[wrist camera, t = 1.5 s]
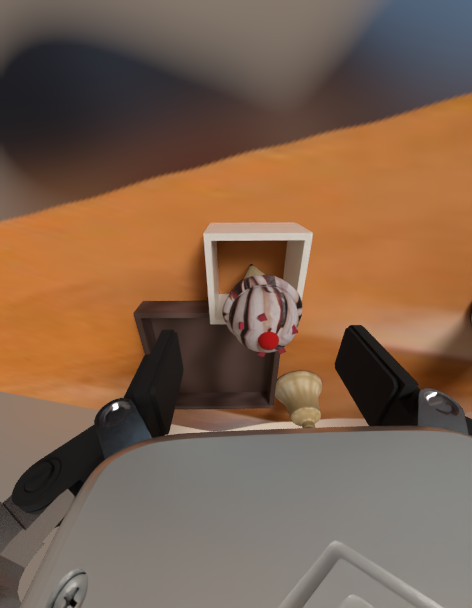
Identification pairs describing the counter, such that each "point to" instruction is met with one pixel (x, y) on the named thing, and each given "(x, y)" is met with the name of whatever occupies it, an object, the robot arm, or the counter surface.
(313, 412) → the hand bell
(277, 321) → the ice cream cone
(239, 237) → the frame
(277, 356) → the tray
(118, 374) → the counter surface
